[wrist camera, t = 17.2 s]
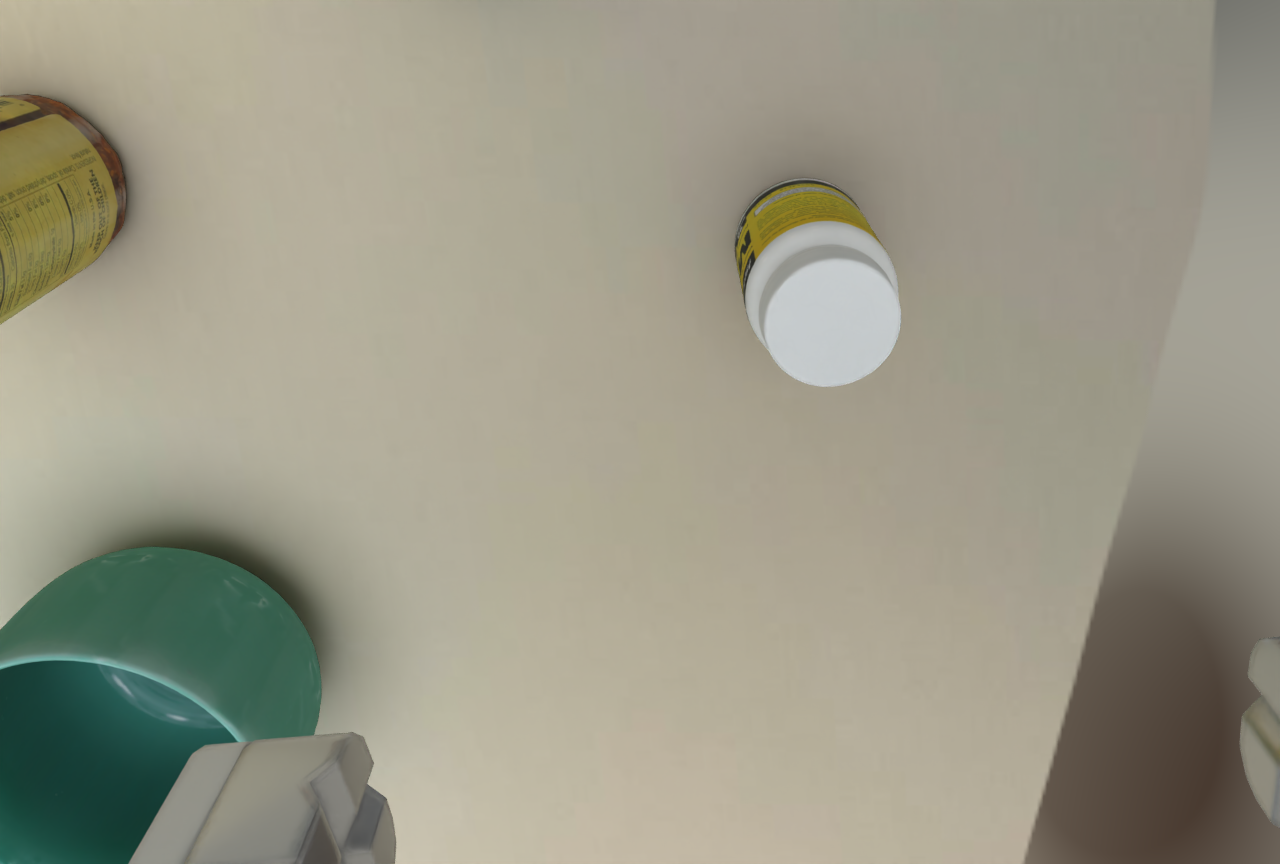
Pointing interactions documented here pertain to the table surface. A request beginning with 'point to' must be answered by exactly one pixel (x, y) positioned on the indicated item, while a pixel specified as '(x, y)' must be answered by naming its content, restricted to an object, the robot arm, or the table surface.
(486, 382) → the table surface
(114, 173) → the sauce bottle
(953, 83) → the table surface
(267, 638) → the mug
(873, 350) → the supplement bottle
